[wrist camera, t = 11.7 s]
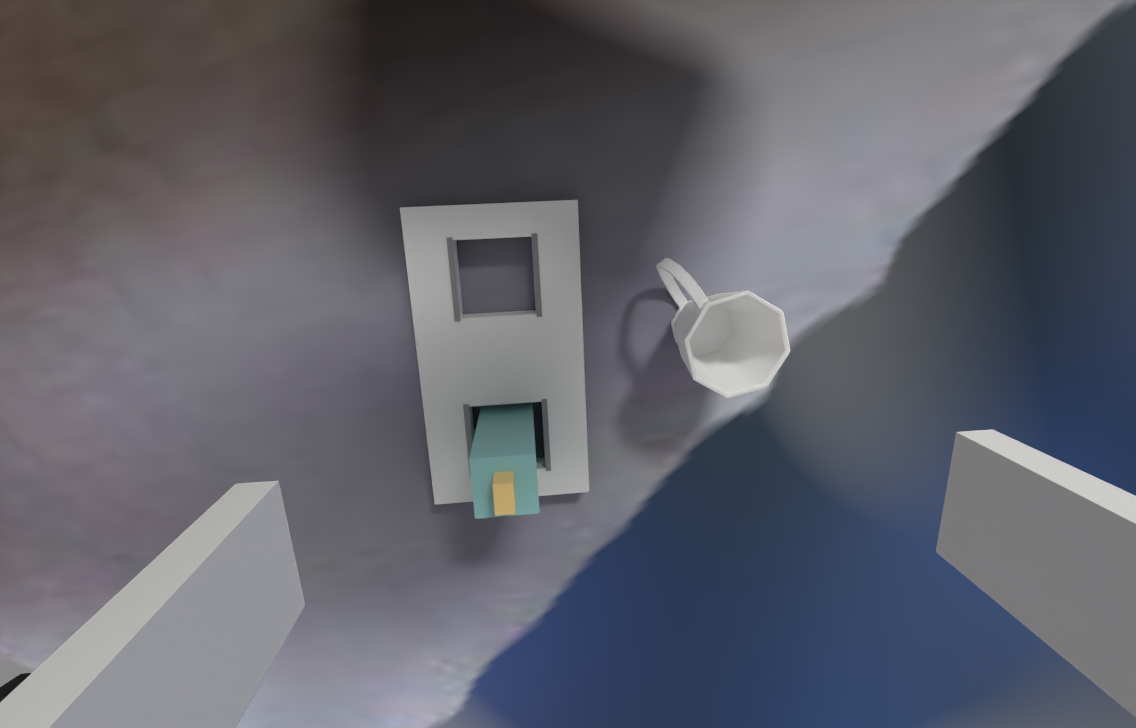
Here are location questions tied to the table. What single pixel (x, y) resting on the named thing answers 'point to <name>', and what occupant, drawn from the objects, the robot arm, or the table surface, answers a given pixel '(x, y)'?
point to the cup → (725, 335)
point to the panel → (499, 340)
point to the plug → (504, 462)
